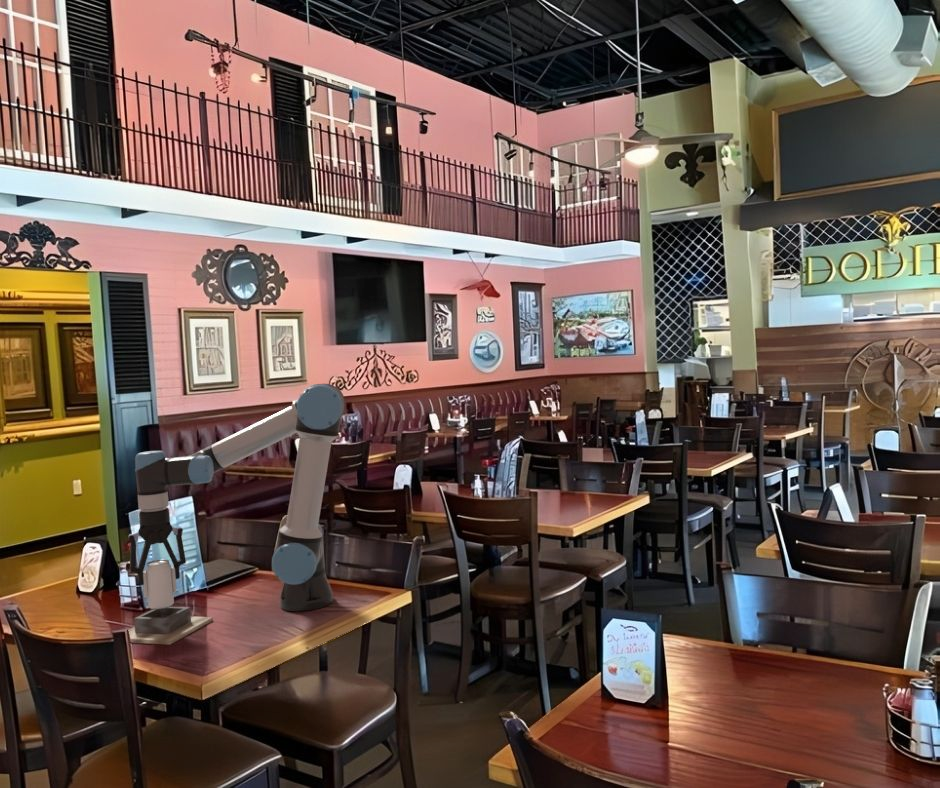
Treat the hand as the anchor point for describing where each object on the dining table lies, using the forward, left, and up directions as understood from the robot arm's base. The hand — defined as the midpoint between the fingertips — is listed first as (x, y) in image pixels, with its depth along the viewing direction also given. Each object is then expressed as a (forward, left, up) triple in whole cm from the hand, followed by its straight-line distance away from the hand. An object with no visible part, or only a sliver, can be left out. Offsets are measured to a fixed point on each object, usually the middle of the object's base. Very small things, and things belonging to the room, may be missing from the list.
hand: (160, 593), depth 207 cm
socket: (0, 0, -10) cm, 10 cm away
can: (0, 0, -4) cm, 4 cm away
